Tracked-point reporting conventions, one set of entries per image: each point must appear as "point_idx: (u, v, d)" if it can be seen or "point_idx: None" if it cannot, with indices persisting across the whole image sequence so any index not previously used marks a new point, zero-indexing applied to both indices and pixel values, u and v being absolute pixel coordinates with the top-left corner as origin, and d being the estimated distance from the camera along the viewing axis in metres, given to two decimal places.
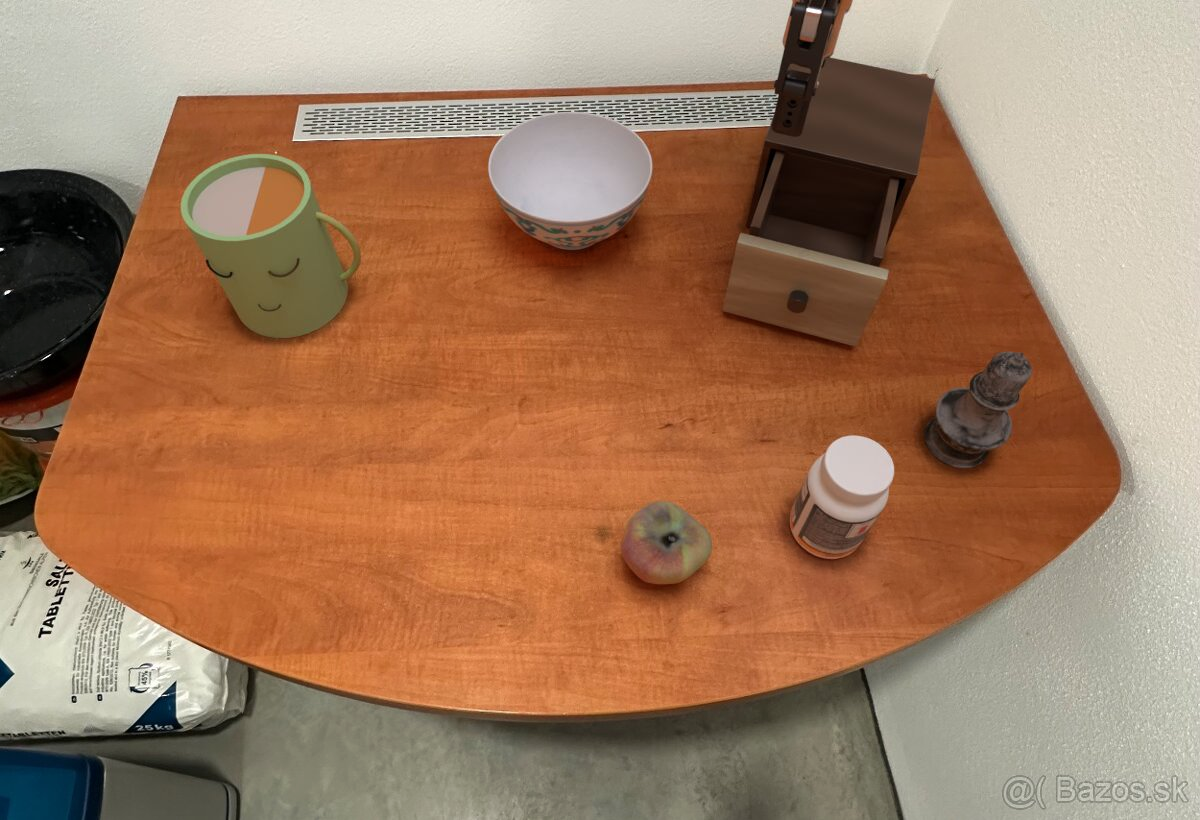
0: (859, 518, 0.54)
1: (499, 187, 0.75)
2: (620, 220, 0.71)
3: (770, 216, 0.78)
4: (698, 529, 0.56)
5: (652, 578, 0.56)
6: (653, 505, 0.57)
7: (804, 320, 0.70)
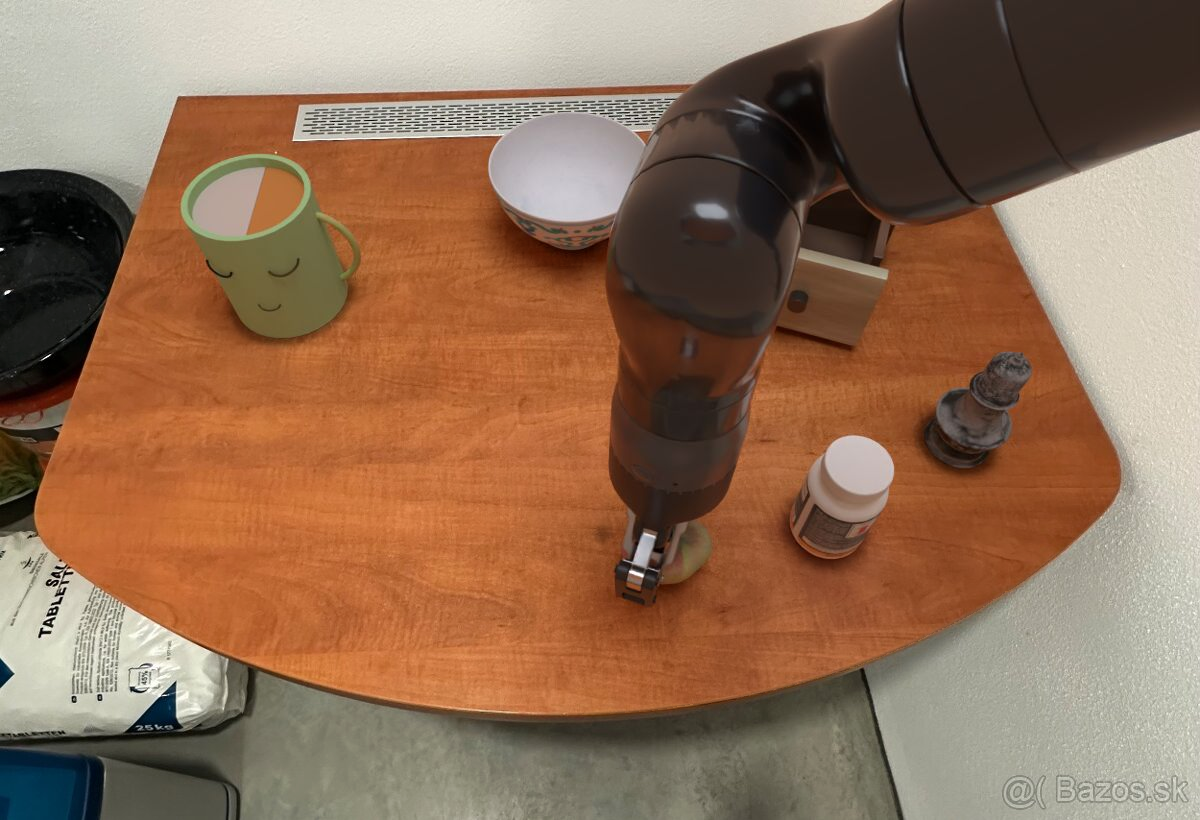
0: (859, 518, 0.54)
1: (499, 187, 0.75)
2: None
3: None
4: (698, 529, 0.56)
5: None
6: None
7: (804, 320, 0.70)
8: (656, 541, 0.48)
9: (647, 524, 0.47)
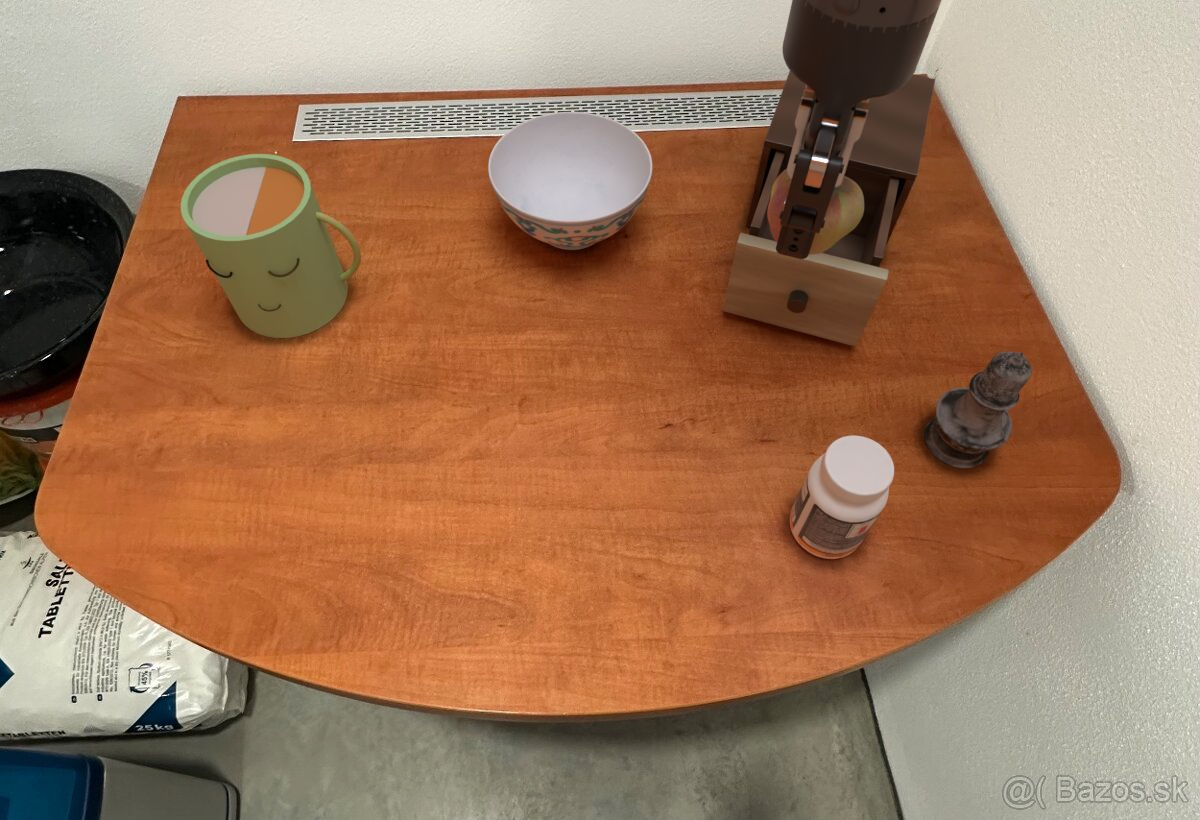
0: (859, 518, 0.54)
1: (499, 187, 0.75)
2: (620, 220, 0.71)
3: None
4: (853, 181, 0.53)
5: None
6: None
7: (804, 320, 0.70)
8: (838, 129, 0.45)
9: (831, 105, 0.44)
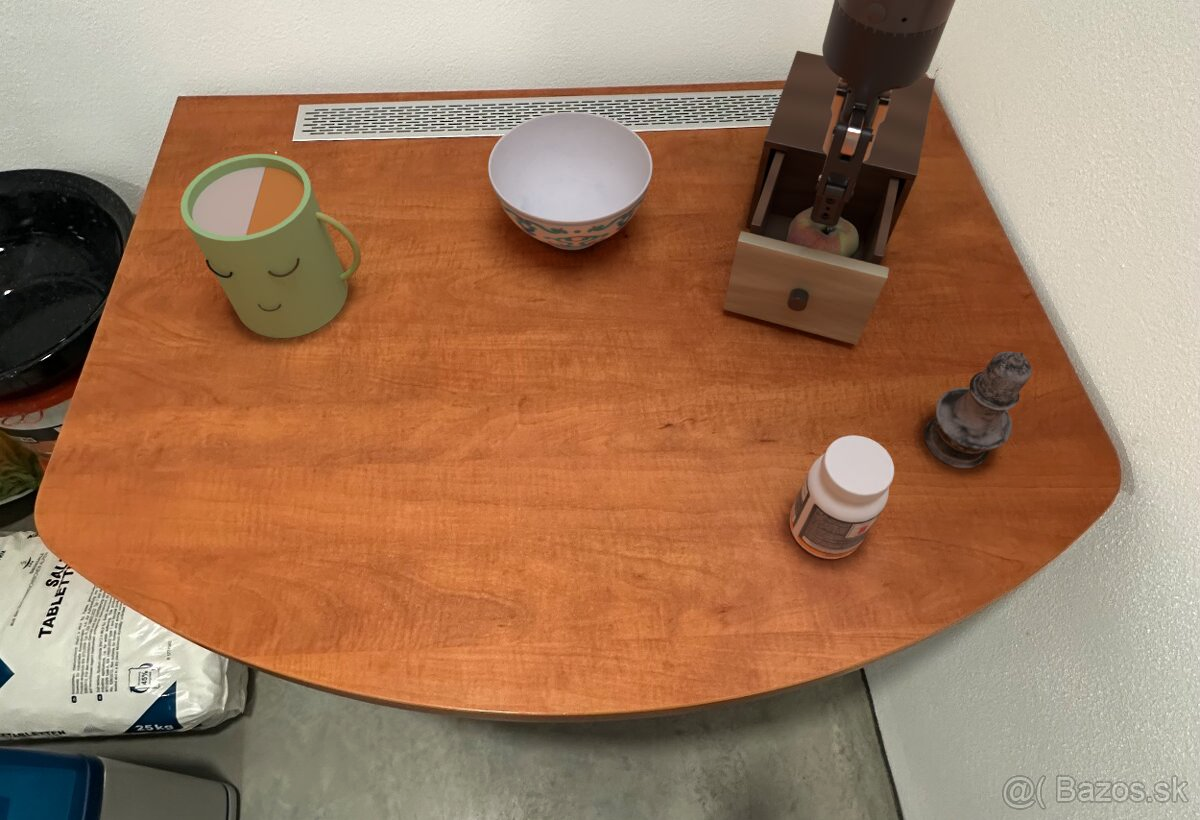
0: (859, 518, 0.54)
1: (499, 187, 0.75)
2: (620, 220, 0.71)
3: (770, 215, 0.78)
4: (850, 224, 0.70)
5: None
6: None
7: (804, 318, 0.70)
8: (866, 114, 0.56)
9: (861, 95, 0.55)
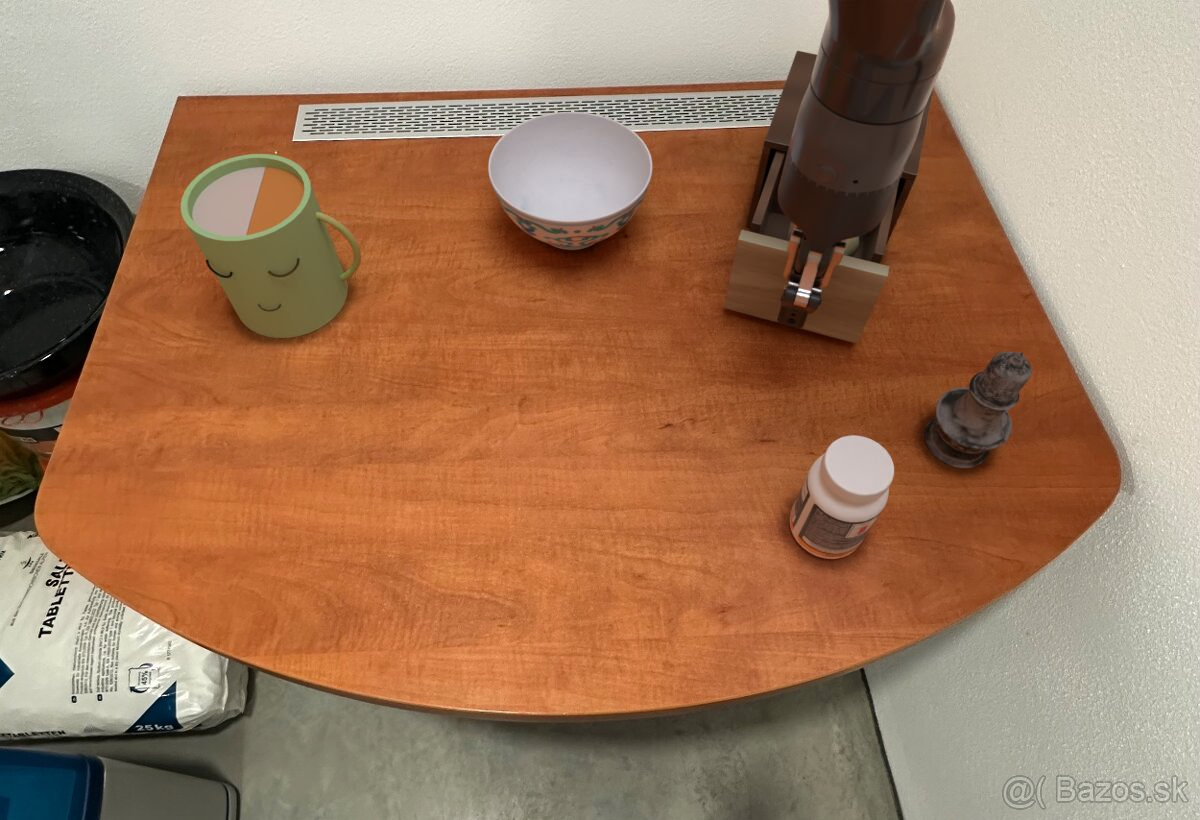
0: (859, 518, 0.54)
1: (499, 187, 0.75)
2: (620, 220, 0.71)
3: (771, 213, 0.78)
4: None
5: None
6: None
7: None
8: (821, 261, 0.55)
9: (816, 243, 0.54)
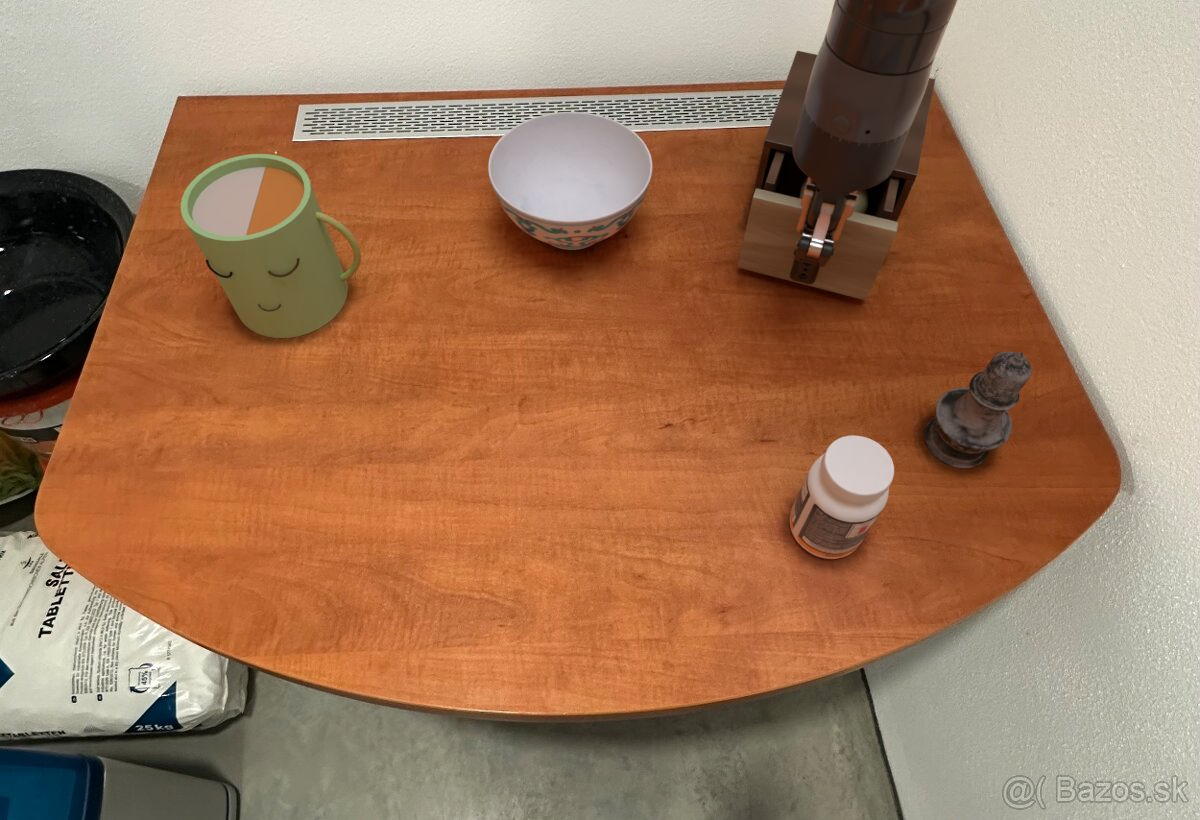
0: (859, 518, 0.54)
1: (499, 187, 0.75)
2: (620, 220, 0.71)
3: (782, 179, 0.81)
4: None
5: None
6: None
7: None
8: (834, 212, 0.58)
9: (829, 194, 0.57)
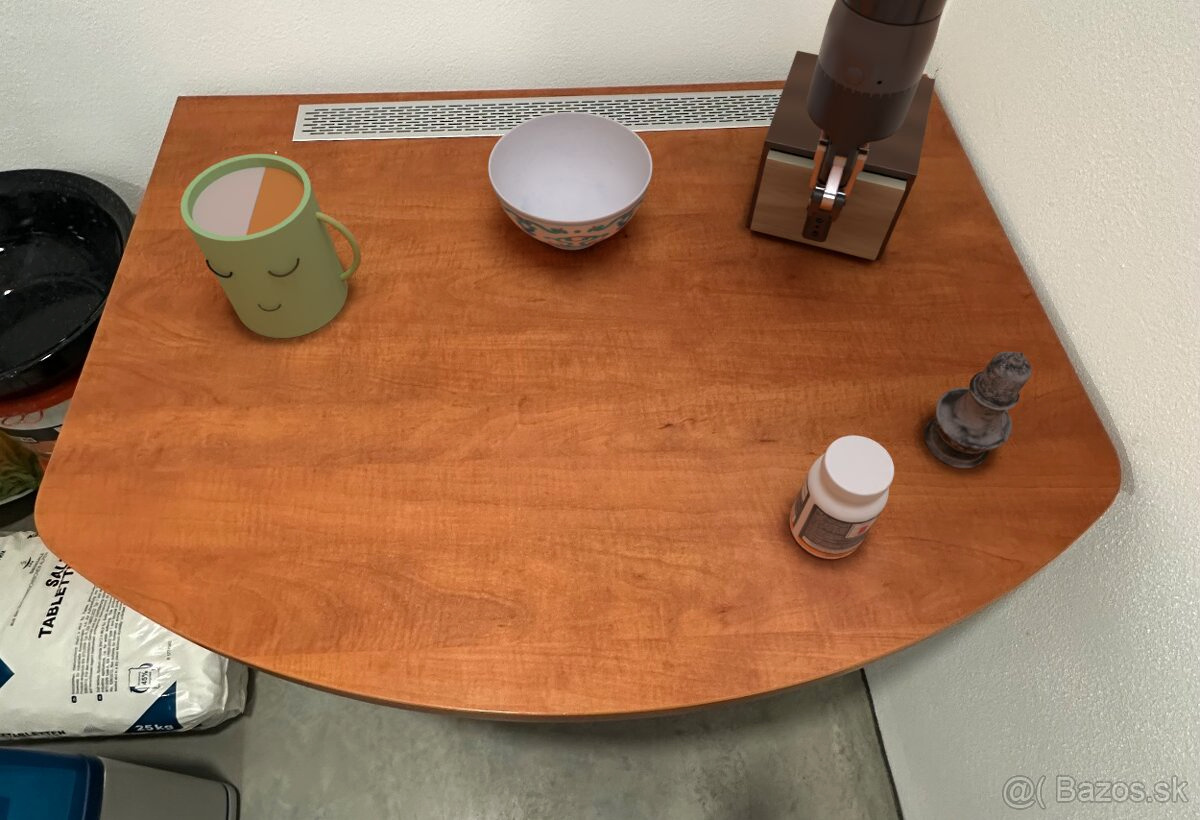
0: (859, 518, 0.54)
1: (499, 187, 0.75)
2: (620, 220, 0.71)
3: None
4: None
5: None
6: None
7: None
8: (846, 164, 0.61)
9: (841, 146, 0.60)
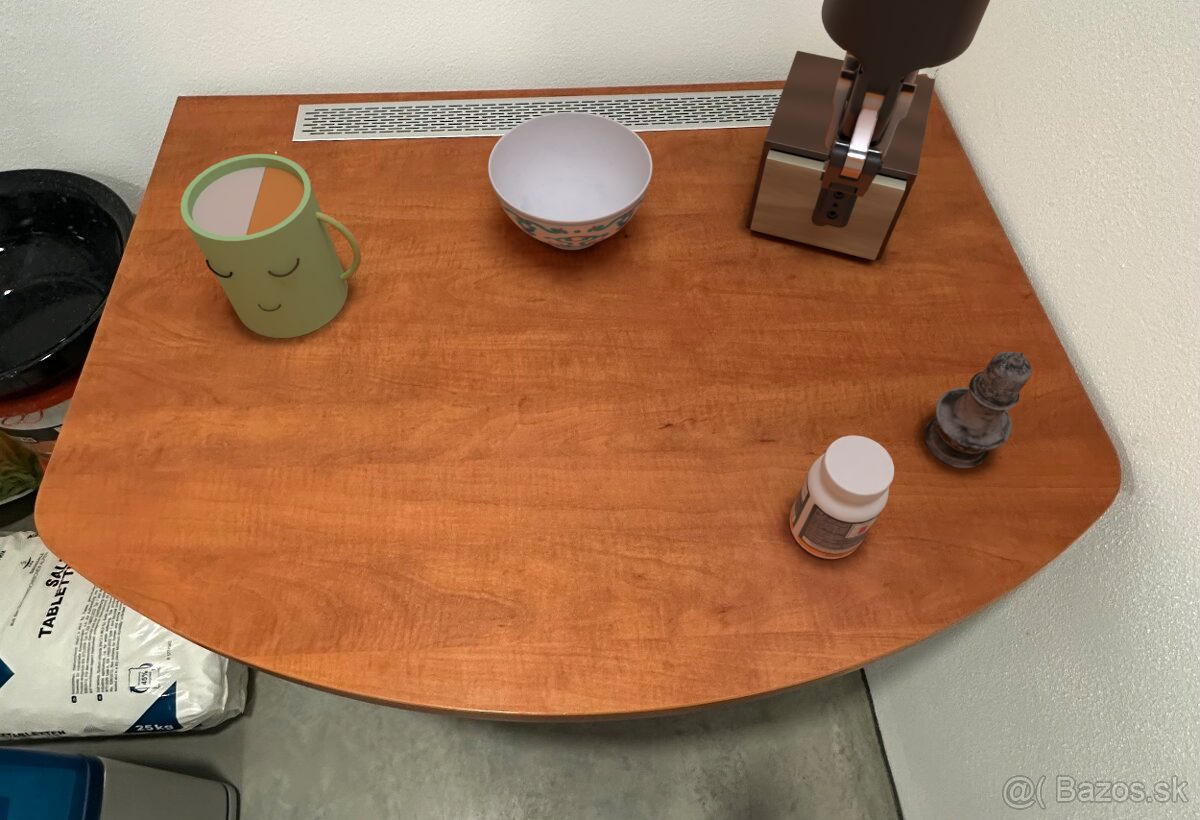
0: (859, 518, 0.54)
1: (499, 187, 0.75)
2: (620, 220, 0.71)
3: None
4: None
5: None
6: None
7: (827, 235, 0.76)
8: (884, 104, 0.39)
9: (877, 77, 0.39)
